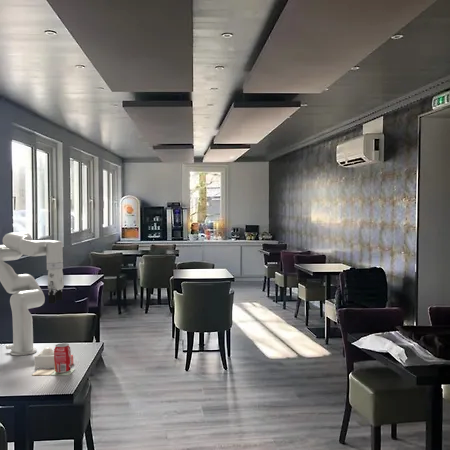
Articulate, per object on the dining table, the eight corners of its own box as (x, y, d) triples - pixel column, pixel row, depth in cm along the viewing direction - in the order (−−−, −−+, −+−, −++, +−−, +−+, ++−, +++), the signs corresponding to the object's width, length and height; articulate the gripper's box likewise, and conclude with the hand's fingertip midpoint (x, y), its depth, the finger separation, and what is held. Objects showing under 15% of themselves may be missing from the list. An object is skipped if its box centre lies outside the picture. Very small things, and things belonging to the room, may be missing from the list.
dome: (38, 360, 247) (38, 349, 247) (43, 356, 253) (43, 345, 253) (52, 360, 247) (52, 348, 246) (56, 356, 253) (56, 345, 253)
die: (62, 365, 249) (61, 356, 249) (64, 363, 253) (64, 354, 253) (70, 365, 249) (70, 356, 249) (73, 363, 253) (73, 354, 253)
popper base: (34, 368, 245) (34, 356, 245) (41, 362, 254) (41, 351, 254) (54, 368, 245) (54, 356, 245) (60, 362, 254) (60, 351, 254)
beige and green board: (31, 375, 234) (31, 374, 234) (38, 370, 242) (38, 369, 242) (69, 375, 234) (69, 374, 234) (74, 369, 242) (74, 369, 242)
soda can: (66, 368, 243) (65, 342, 242) (74, 371, 238) (73, 344, 237) (51, 371, 238) (50, 345, 238) (59, 375, 233) (58, 347, 233)
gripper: (56, 267, 250) (57, 304, 251) (68, 264, 268) (68, 298, 268) (40, 268, 250) (41, 304, 251) (53, 264, 268) (54, 298, 268)
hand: (55, 301), depth 259 cm, fingers open, 9 cm apart
